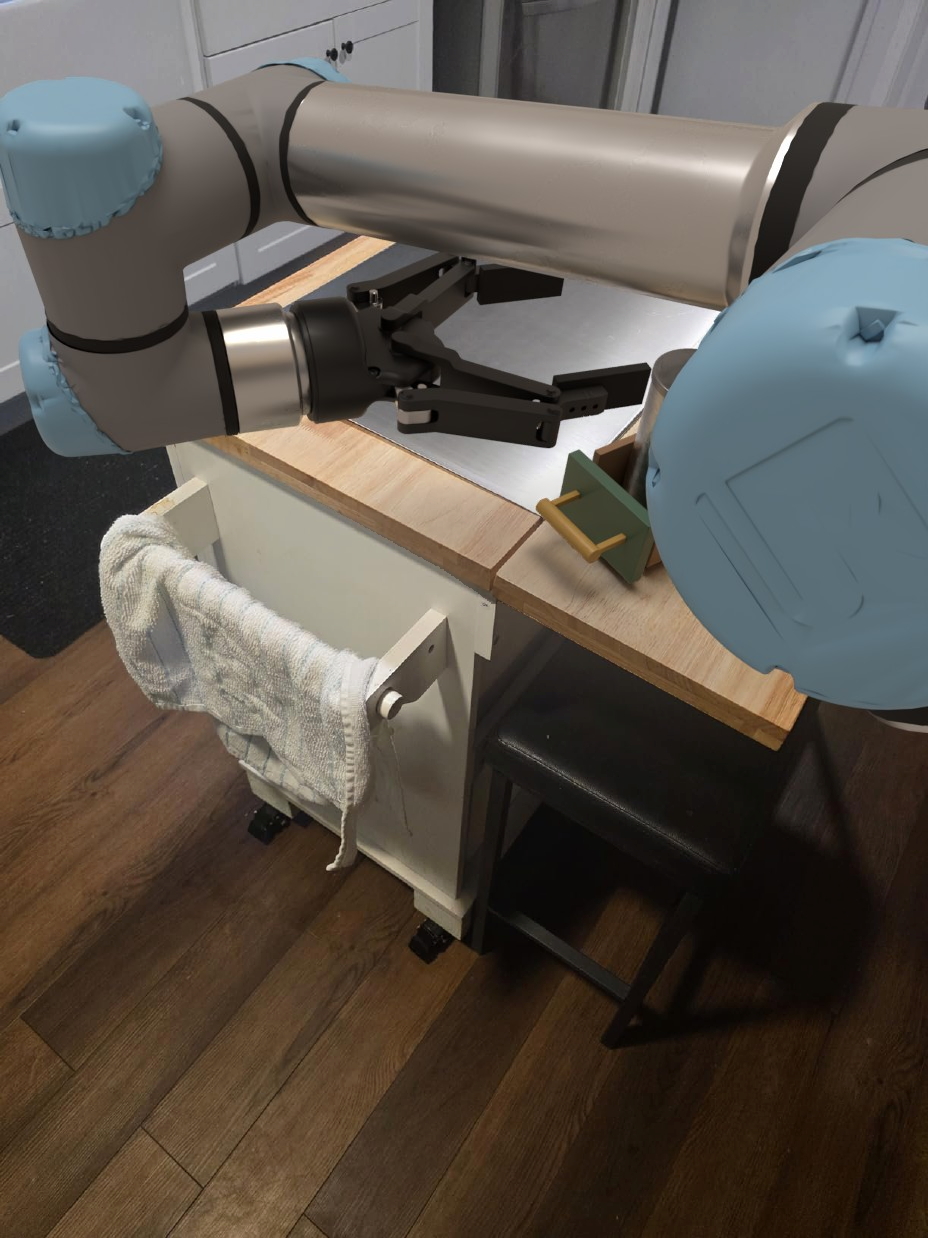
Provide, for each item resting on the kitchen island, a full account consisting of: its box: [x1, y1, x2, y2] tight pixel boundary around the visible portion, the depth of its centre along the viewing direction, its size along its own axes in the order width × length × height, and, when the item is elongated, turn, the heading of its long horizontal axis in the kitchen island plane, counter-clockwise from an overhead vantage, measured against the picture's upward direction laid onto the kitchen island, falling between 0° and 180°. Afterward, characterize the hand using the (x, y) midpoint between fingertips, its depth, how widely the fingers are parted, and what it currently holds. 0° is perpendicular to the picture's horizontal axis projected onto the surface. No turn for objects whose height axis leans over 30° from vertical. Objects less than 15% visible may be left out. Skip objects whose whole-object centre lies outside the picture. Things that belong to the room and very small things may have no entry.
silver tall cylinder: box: [622, 347, 698, 511], centre depth 73 cm, size 8×8×14 cm
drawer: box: [535, 432, 662, 585], centre depth 75 cm, size 20×10×7 cm, turn 124°
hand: (601, 326), depth 61 cm, fingers open, 13 cm apart
